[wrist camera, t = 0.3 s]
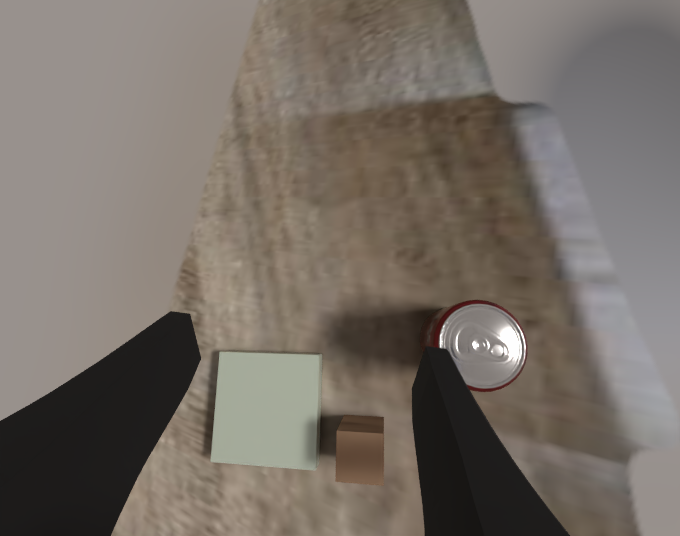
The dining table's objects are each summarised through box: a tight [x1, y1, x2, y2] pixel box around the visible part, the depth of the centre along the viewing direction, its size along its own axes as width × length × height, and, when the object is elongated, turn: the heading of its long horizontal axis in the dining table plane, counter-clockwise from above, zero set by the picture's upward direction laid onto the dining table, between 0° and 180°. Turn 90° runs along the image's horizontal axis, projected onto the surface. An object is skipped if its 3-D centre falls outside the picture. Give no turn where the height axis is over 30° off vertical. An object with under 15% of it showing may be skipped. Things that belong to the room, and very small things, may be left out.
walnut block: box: [336, 415, 384, 486], centre depth 34 cm, size 4×4×6 cm
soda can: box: [420, 300, 527, 392], centre depth 32 cm, size 7×7×12 cm
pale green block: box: [211, 351, 322, 470], centre depth 38 cm, size 12×12×2 cm
